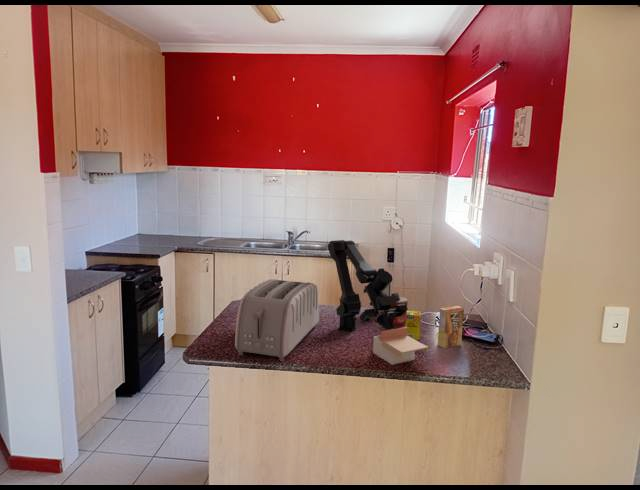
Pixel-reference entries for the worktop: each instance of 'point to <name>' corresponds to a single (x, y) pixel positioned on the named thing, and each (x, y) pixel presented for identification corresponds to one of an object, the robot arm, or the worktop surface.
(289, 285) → the toaster
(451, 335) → the candy box
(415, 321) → the supplement box
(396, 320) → the canned food
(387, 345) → the lid
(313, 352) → the worktop surface
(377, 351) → the mailer tray
